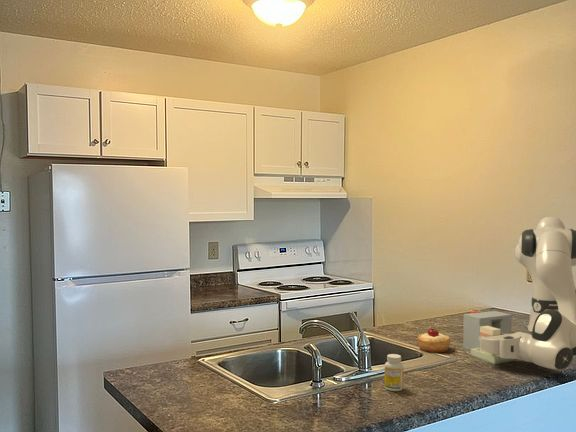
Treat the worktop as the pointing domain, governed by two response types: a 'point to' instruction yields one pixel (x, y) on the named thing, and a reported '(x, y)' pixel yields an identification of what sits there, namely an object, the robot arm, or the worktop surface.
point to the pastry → (434, 341)
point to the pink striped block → (489, 334)
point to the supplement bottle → (394, 373)
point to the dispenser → (483, 319)
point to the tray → (488, 357)
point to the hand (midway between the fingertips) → (490, 336)
